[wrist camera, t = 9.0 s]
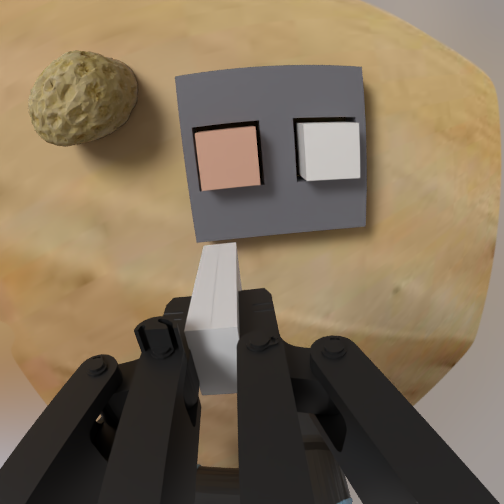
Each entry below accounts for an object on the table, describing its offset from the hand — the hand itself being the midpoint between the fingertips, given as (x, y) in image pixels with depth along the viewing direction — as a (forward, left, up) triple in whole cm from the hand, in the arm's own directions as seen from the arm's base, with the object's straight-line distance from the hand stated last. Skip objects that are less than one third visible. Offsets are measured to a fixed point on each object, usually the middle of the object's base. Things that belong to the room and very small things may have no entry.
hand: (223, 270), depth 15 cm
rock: (+11, +13, -19) cm, 26 cm away
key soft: (+3, -9, -17) cm, 19 cm away
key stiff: (+3, 0, -17) cm, 17 cm away
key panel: (+3, -5, -18) cm, 19 cm away
